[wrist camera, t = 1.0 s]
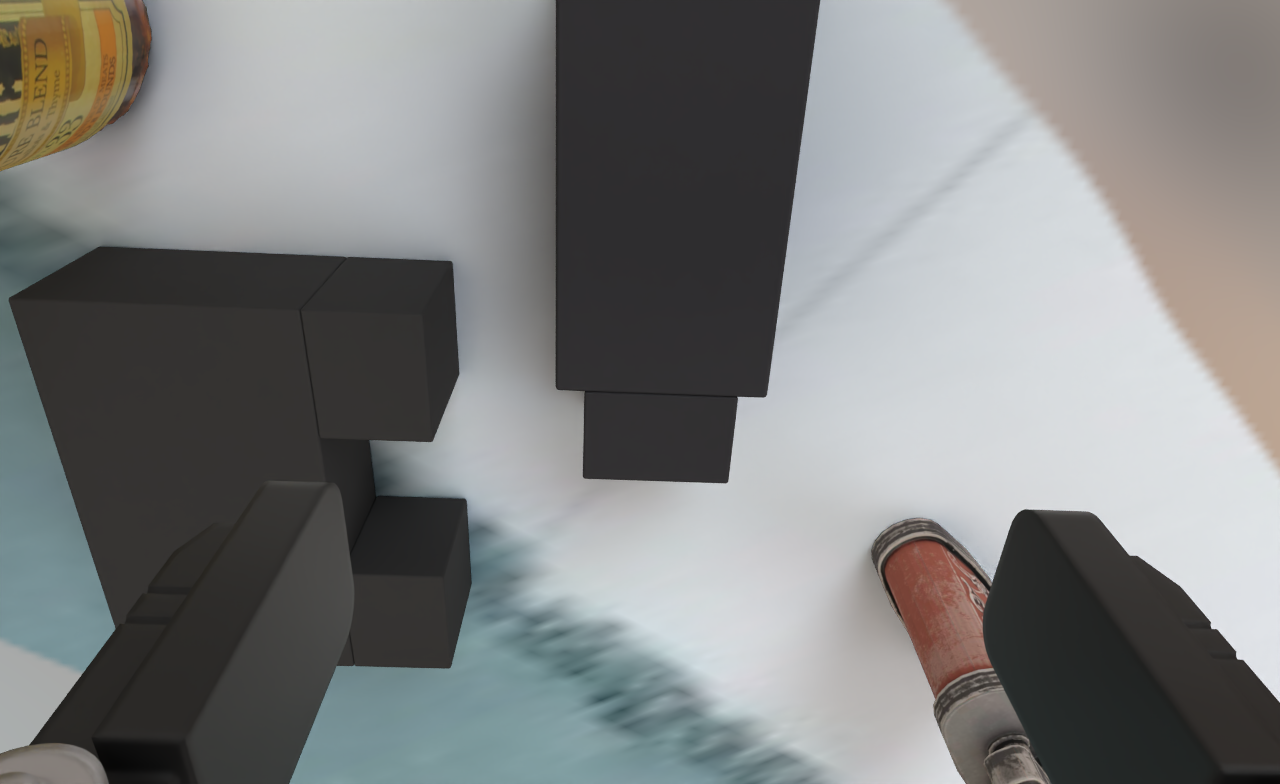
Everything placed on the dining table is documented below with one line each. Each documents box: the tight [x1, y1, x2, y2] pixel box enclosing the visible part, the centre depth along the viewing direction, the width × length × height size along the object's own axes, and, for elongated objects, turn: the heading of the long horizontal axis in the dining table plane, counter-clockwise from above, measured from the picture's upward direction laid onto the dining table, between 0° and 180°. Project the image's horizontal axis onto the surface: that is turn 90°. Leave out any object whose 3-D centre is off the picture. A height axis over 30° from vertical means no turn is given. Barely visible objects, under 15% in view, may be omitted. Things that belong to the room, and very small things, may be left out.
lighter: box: [871, 518, 1051, 784], centre depth 26 cm, size 8×3×10 cm, turn 36°
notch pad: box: [9, 247, 471, 668], centre depth 25 cm, size 12×10×4 cm
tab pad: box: [556, 0, 820, 483], centre depth 22 cm, size 6×13×4 cm, turn 177°
